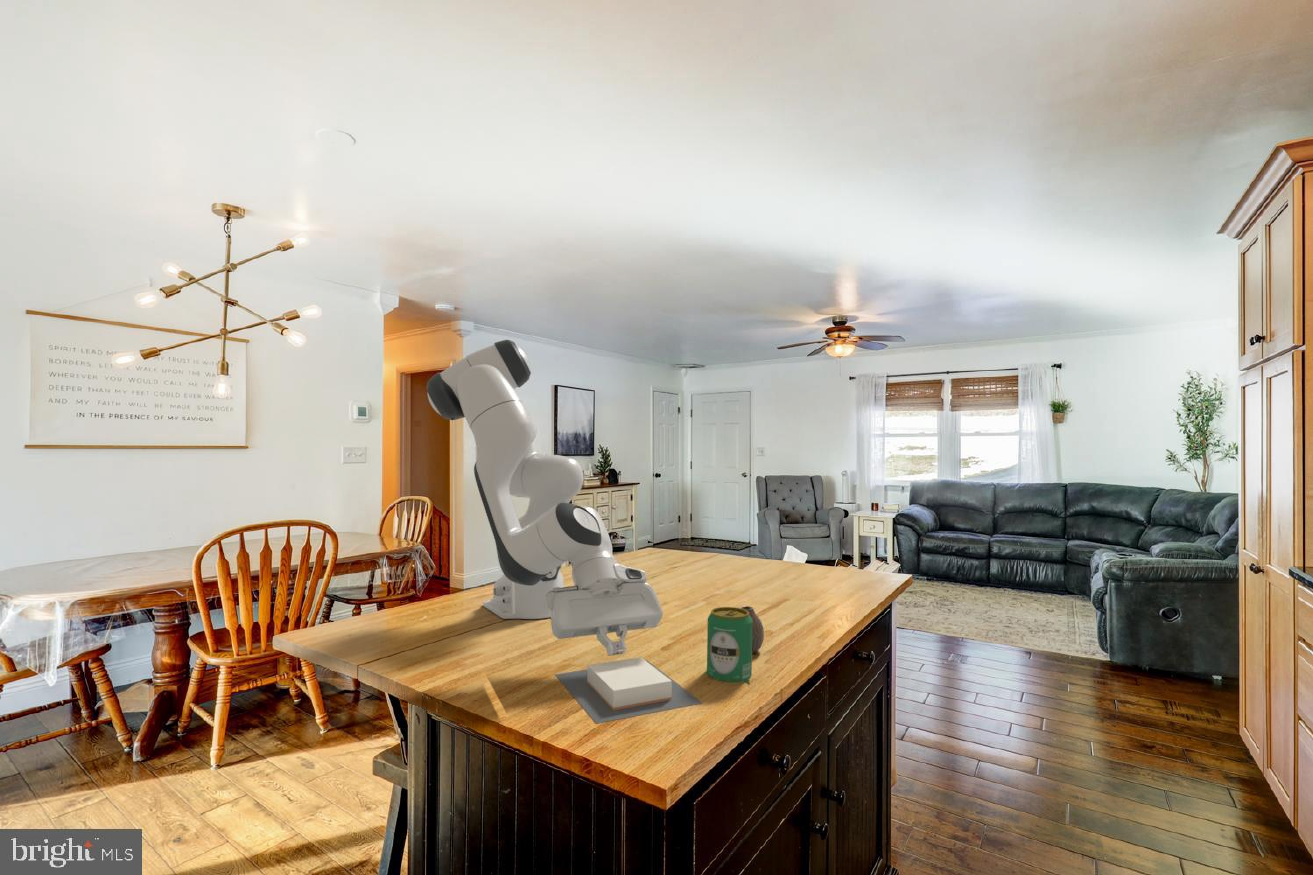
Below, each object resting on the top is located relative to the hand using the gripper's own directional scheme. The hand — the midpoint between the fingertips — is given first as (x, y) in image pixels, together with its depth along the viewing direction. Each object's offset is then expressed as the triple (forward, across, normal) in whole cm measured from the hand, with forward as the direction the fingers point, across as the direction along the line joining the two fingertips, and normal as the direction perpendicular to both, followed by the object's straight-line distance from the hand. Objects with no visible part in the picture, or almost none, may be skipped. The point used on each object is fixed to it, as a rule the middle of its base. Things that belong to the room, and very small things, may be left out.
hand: (617, 653), depth 105 cm
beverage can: (+7, +20, +2) cm, 21 cm away
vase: (-1, +32, +10) cm, 33 cm away
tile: (+1, 0, +4) cm, 4 cm away
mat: (+6, 0, +2) cm, 7 cm away
